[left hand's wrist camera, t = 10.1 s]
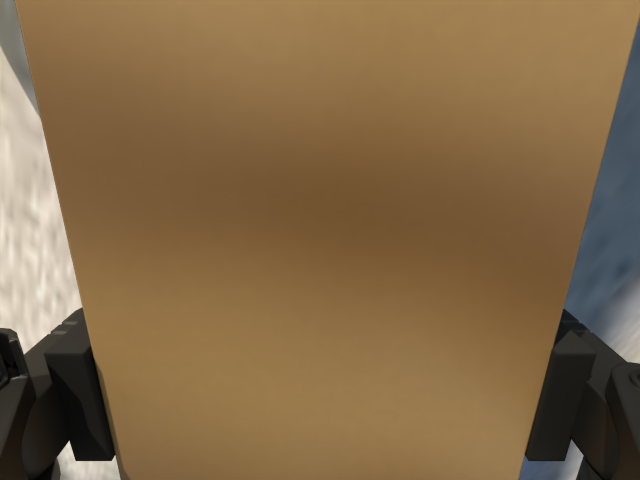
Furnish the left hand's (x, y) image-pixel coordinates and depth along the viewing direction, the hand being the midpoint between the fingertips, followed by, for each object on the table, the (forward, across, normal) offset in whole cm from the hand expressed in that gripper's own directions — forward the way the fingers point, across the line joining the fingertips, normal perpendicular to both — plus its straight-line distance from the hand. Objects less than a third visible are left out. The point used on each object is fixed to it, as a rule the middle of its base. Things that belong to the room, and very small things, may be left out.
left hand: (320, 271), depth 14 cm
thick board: (0, 0, -19) cm, 19 cm away
